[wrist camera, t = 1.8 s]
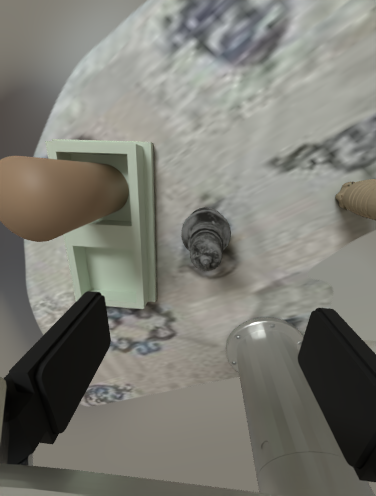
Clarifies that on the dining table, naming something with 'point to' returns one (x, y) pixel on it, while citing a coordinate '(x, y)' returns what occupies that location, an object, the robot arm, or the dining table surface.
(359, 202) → the handle
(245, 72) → the dining table surface
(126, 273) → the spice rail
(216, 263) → the salt shaker
